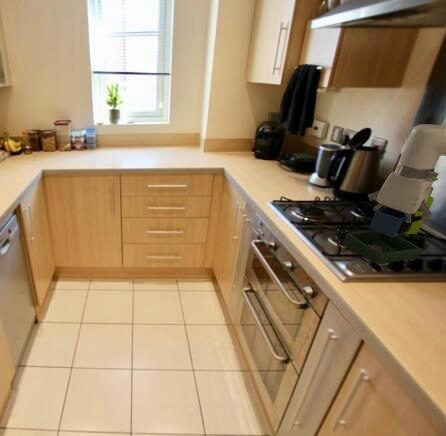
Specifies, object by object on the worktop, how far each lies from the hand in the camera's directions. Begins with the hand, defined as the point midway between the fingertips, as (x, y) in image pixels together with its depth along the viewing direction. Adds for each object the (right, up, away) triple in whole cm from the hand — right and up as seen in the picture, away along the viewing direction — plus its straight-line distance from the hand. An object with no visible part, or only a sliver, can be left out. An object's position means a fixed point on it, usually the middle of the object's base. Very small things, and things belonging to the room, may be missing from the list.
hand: (388, 226), depth 95 cm
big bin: (0, -8, +4) cm, 9 cm away
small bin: (0, -1, 0) cm, 1 cm away
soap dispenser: (+20, -2, +16) cm, 26 cm away
